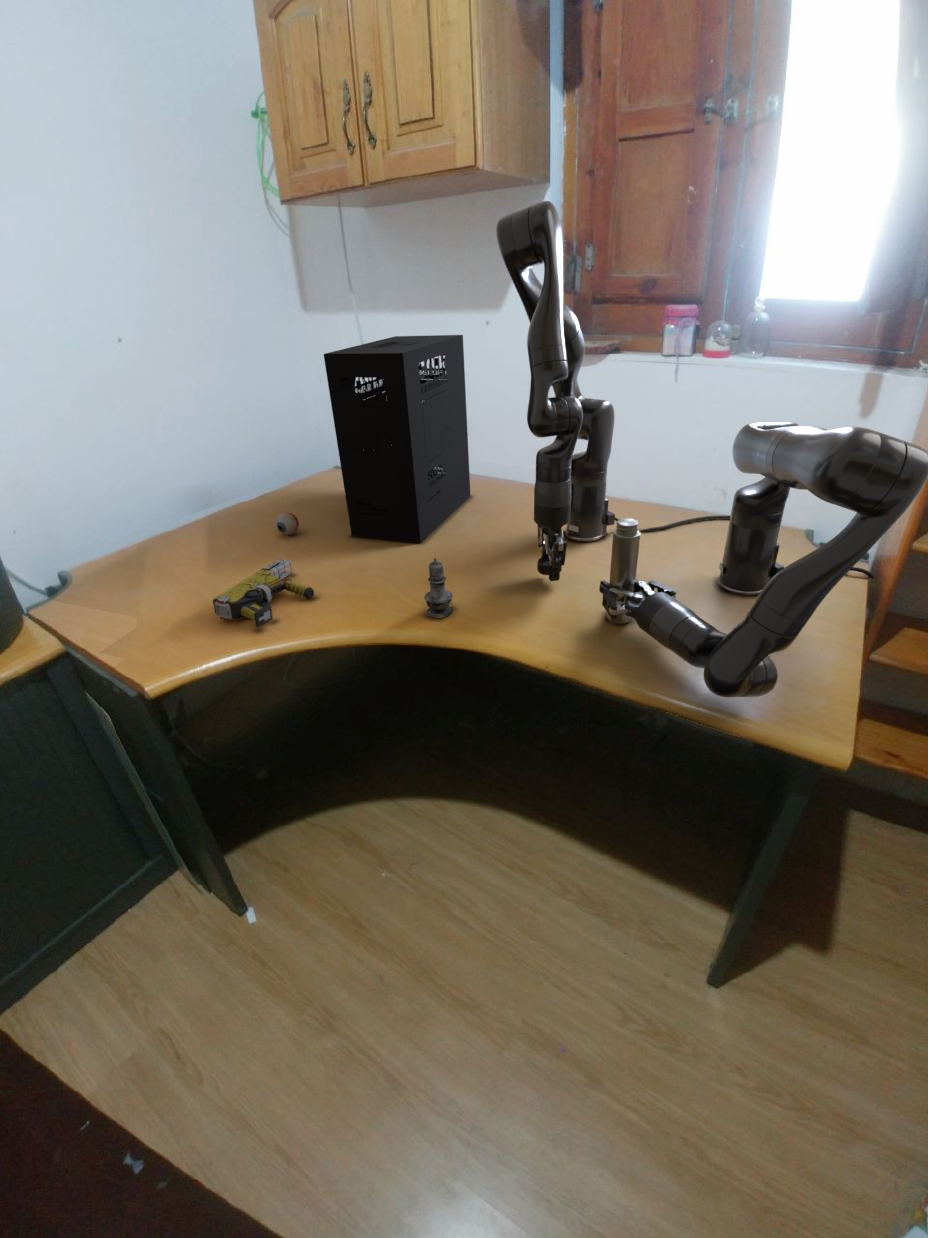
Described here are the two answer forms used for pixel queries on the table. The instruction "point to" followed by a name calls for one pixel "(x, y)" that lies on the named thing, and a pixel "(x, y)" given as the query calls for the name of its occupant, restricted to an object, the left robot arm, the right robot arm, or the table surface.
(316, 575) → the table surface
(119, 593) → the table surface
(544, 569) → the lid
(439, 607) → the dark chess piece
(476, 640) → the table surface
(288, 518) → the eyeball
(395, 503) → the cardboard box
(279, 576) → the toy gun
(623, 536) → the metal thermos bottle
